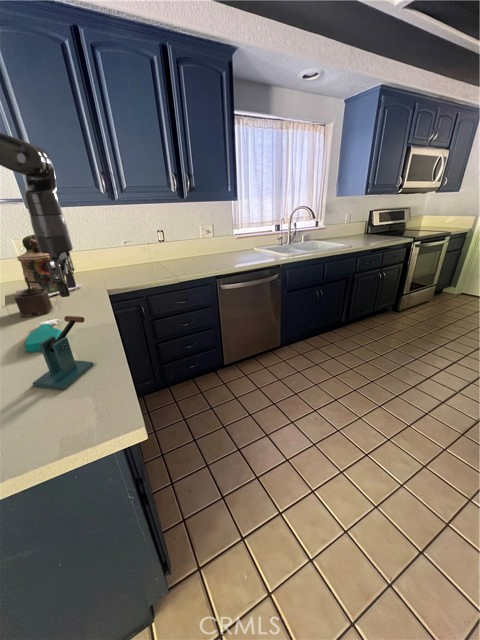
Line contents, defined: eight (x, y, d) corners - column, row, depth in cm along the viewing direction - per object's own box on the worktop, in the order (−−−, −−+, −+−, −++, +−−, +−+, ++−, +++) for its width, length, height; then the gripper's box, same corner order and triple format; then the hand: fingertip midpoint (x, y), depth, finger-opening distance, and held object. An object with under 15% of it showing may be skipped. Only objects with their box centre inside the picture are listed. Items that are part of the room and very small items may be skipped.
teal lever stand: (65, 362, 85) (54, 329, 80) (93, 365, 83) (84, 331, 78) (33, 386, 74) (18, 350, 69) (65, 389, 73) (51, 353, 68)
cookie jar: (14, 294, 147) (-9, 234, 133) (58, 282, 167) (42, 229, 153) (41, 300, 137) (19, 236, 123) (84, 287, 157) (69, 231, 144)
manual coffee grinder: (20, 318, 117) (5, 278, 109) (27, 309, 126) (13, 272, 119) (61, 312, 123) (49, 274, 115) (64, 304, 132) (53, 268, 124)
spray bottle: (24, 354, 89) (34, 327, 109) (61, 346, 94) (65, 321, 114) (21, 346, 88) (32, 320, 108) (59, 338, 93) (63, 315, 113)
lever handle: (70, 319, 83) (65, 313, 81) (86, 320, 82) (81, 315, 80) (46, 351, 75) (41, 347, 73) (63, 353, 74) (58, 348, 72)
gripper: (43, 231, 74) (60, 286, 81) (25, 237, 62) (46, 301, 69) (73, 229, 77) (87, 283, 83) (61, 235, 64) (79, 298, 71)
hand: (69, 291), depth 76 cm, fingers open, 8 cm apart
